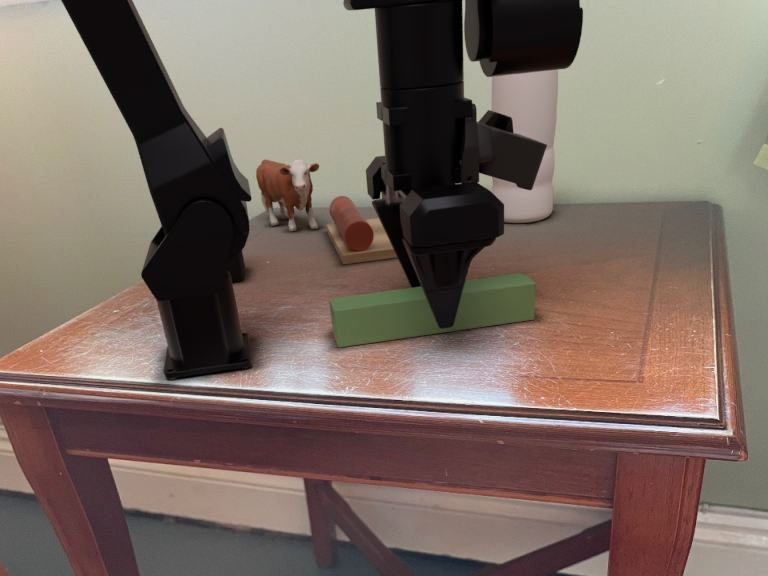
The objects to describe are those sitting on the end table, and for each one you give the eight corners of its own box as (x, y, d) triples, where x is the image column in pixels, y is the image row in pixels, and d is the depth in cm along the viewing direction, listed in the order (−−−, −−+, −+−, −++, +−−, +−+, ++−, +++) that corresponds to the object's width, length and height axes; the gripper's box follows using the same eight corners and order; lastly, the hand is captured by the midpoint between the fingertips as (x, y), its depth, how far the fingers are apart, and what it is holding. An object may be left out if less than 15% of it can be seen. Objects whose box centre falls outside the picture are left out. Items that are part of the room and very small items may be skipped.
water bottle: (509, 207, 93) (512, -45, 79) (562, 211, 90) (576, -53, 76) (480, 221, 89) (478, -44, 75) (535, 226, 85) (544, -52, 71)
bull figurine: (300, 240, 88) (289, 164, 83) (257, 221, 98) (246, 151, 93) (334, 233, 90) (325, 158, 85) (289, 214, 100) (279, 146, 95)
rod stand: (465, 248, 80) (465, 208, 78) (343, 264, 78) (338, 224, 76) (434, 219, 91) (433, 183, 89) (327, 232, 90) (323, 197, 88)
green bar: (534, 319, 61) (535, 282, 60) (337, 348, 60) (333, 310, 58) (522, 308, 64) (523, 272, 62) (333, 334, 62) (328, 298, 60)
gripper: (589, 82, 45) (573, 334, 54) (495, 65, 61) (494, 263, 69) (405, 102, 44) (419, 356, 53) (356, 79, 59) (374, 279, 68)
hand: (431, 307), depth 61 cm, fingers open, 9 cm apart
